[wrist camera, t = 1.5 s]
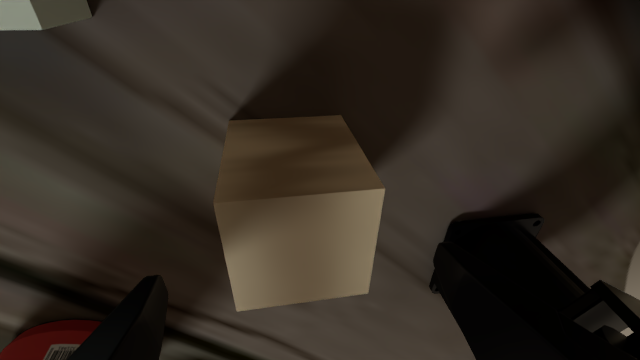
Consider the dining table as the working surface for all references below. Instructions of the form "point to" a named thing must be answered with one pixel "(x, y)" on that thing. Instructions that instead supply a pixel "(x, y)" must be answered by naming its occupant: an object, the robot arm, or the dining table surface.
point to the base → (41, 13)
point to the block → (296, 211)
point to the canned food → (49, 340)
